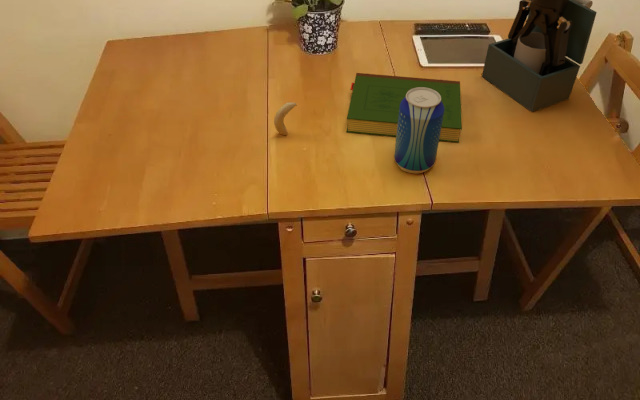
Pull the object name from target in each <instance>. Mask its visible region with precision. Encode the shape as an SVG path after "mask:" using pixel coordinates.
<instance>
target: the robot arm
mask: <svg viewBox="0 0 640 400" xmlns="http://www.w3.org/2000/svg"><path fill="white" fill-rule="evenodd" d="M567 1H568V0H520V1H519V3H518V10H517V12H516V15H515V17H514V20H513V23H512V25H511V26H510V30H509V31H508V35H507V39H508V38H509V39H512V41H513V47H512V51H511V56H512V57H513V58H514V54H515V50H516V46H517V42H518V38H519V36H520V35H521V38H522V37H526V36H528V35H529V34H530V33H531V31H532V30H533V29H534V28H535V26H536V25H537V26H539V27H540V28H542V33H543V35H544V39H545V49H546V52H545V56H546V62H545V63H542V67H541V70H540V74H539V75H541V76H545V75H548V74H551V73H553V71H554V68H555V66H559V65H562V64H564V63H565V58H567V57H566V51H567V44H568V37H569V31H570V29H571V27H572V25H573V21H572V20H569V21H567V20H566V19H565V18H563V9H564V7H565V5H566V4H567ZM529 12H531V15H530V16H529V18H528V14H529ZM558 24H559V25H558ZM549 28H552V29H549ZM548 29H549V30H548Z"/></svg>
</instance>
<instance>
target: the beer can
mask: <svg viewBox="0 0 640 400" xmlns="http://www.w3.org/2000/svg"><path fill="white" fill-rule="evenodd" d="M443 115H444V105H443V103H442V101H441V96H440V94H439V93H438V92H437V91H435V90H433V89H430V88H425V87H418V88H413V89H411V90H409V91H408V92H407V93H406V97H405V98H404V99H403V100H402V101H401V103H400V108H399V117H398V126H397V134H396V137H395V143H394V153H393V159H394V162H395V163H396V164H397V166H398V167H399V168H400V169H401V170H402V171H404V172H406V173H409V174H413V175H414V174H415V175H417V174H422V173H425V172H428V170H430V169H431V168H432V167H434V165H435V164H436V160H437V155H438V154H437V153H438V148H439V144H440V143H439V142H440V141H439V138H440V132H441V126H442V121H443Z"/></svg>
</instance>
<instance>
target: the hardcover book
mask: <svg viewBox="0 0 640 400" xmlns="http://www.w3.org/2000/svg"><path fill="white" fill-rule="evenodd" d="M418 87H425V88H430V89H433V90H435V91H437V92H438V93H439V94H440V96H441V101H442V103H443V105H444V115H443V121H442V126H441V132H440V138H439V142H447V143H456V144H459V143H460V133H461V131H462V129H463V124H462V122H463V121H462V97H461V81H459V80H448V79H437V78H436V79H435V78H425V77H413V76H412V77H410V76H399V75H389V74H388V75H386V74H374V73H362V72H361V73H360V72H356V73H355V78H354V82H351V85H350V91H352V92H351V97H350V101H349V106H348V111H347V117H346V120H347V127H346V133H349V134H361V135H369V136H380V137H381V136H382V137H383V136H384V137H392V138H396V134H397V126H398V117H399V108H400V103H401V101H402V100H403V99H404V98H405V97H406V93H407V92H408V91H409V90H411V89H413V88H418Z"/></svg>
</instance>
